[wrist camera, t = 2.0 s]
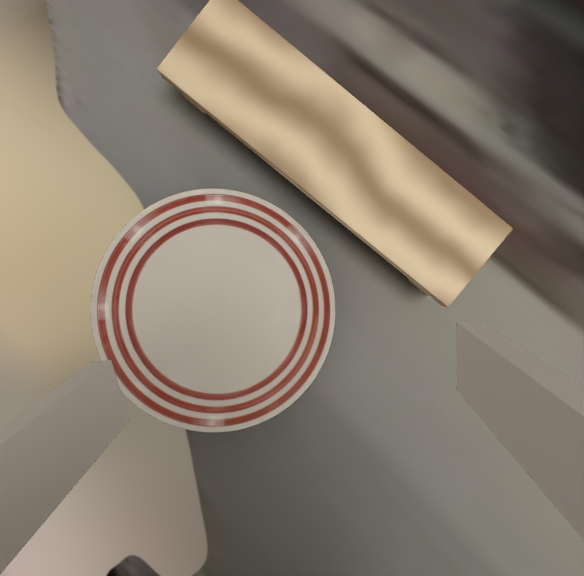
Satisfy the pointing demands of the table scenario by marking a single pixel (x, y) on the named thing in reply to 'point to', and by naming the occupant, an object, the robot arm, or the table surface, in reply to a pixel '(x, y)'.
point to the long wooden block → (333, 149)
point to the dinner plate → (213, 310)
